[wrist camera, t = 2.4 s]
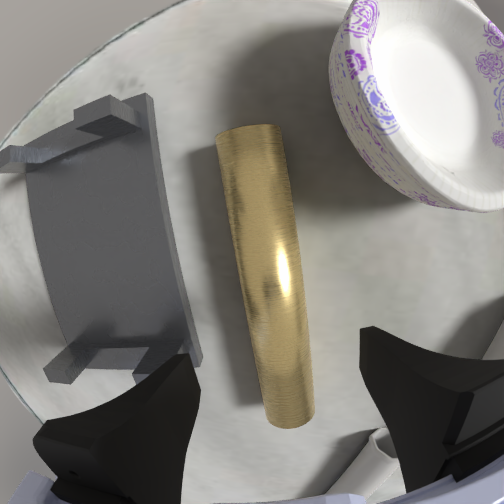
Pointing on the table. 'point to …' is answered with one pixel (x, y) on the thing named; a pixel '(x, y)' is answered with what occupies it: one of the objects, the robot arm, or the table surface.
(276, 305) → the brass pin
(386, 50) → the paper bowls
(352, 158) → the table surface
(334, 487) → the tube
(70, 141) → the corner post stand
